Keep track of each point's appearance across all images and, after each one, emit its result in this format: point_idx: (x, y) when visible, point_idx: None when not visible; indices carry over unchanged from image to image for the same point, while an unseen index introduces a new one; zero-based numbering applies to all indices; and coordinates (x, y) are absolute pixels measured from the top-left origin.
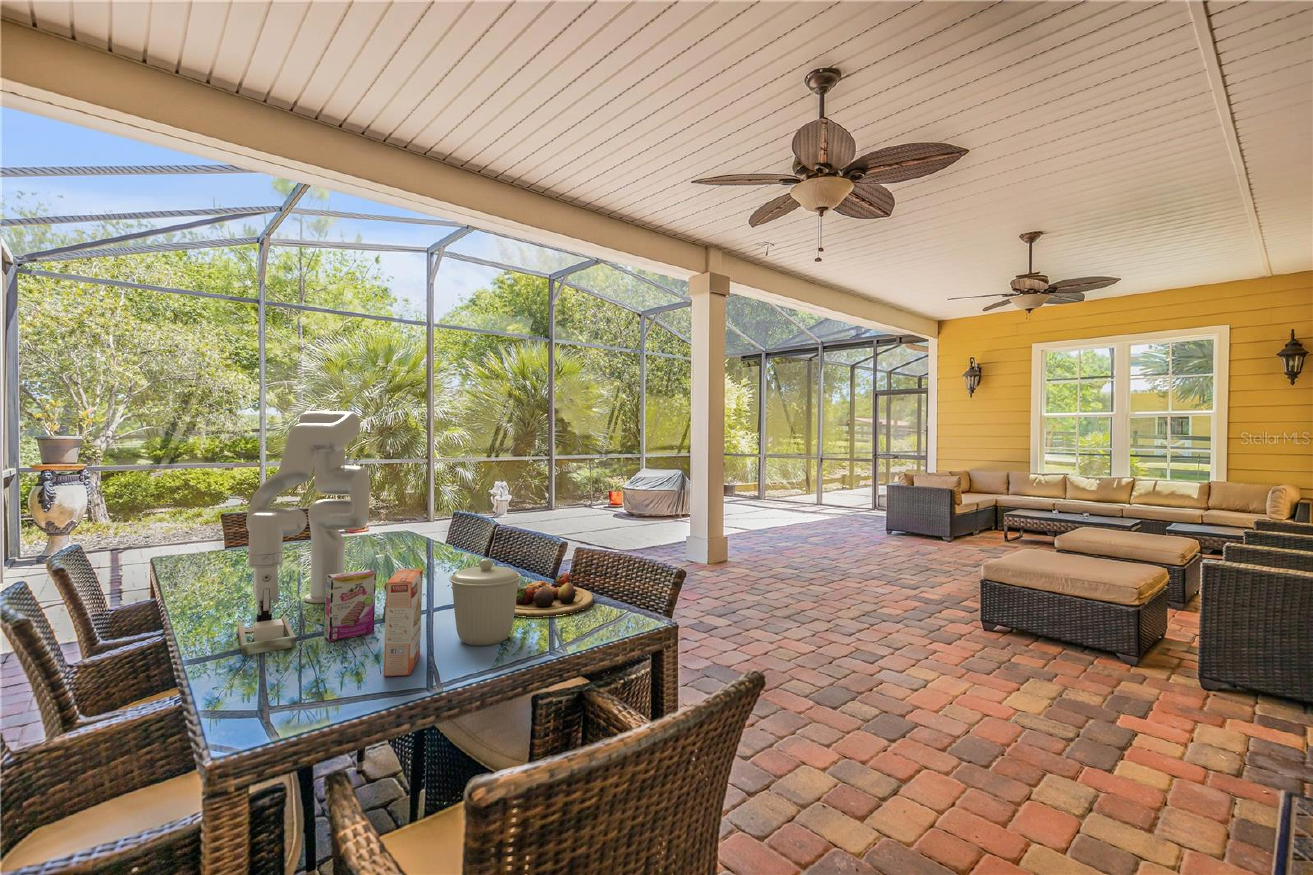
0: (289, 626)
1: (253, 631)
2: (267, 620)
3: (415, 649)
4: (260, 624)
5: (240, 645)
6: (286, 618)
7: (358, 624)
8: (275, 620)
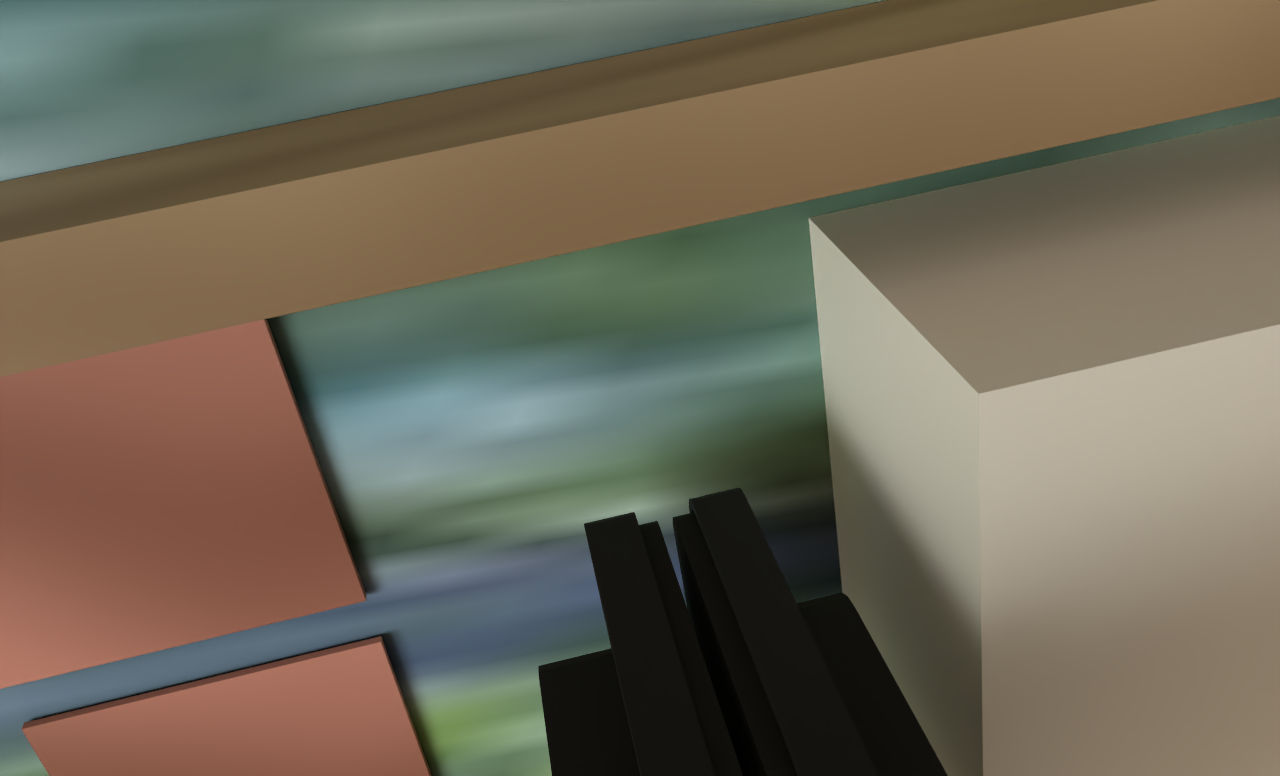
0: (1086, 45)
1: (424, 758)
2: (906, 715)
3: None
4: (1258, 772)
5: None
6: (8, 257)
7: None
8: (1086, 521)
